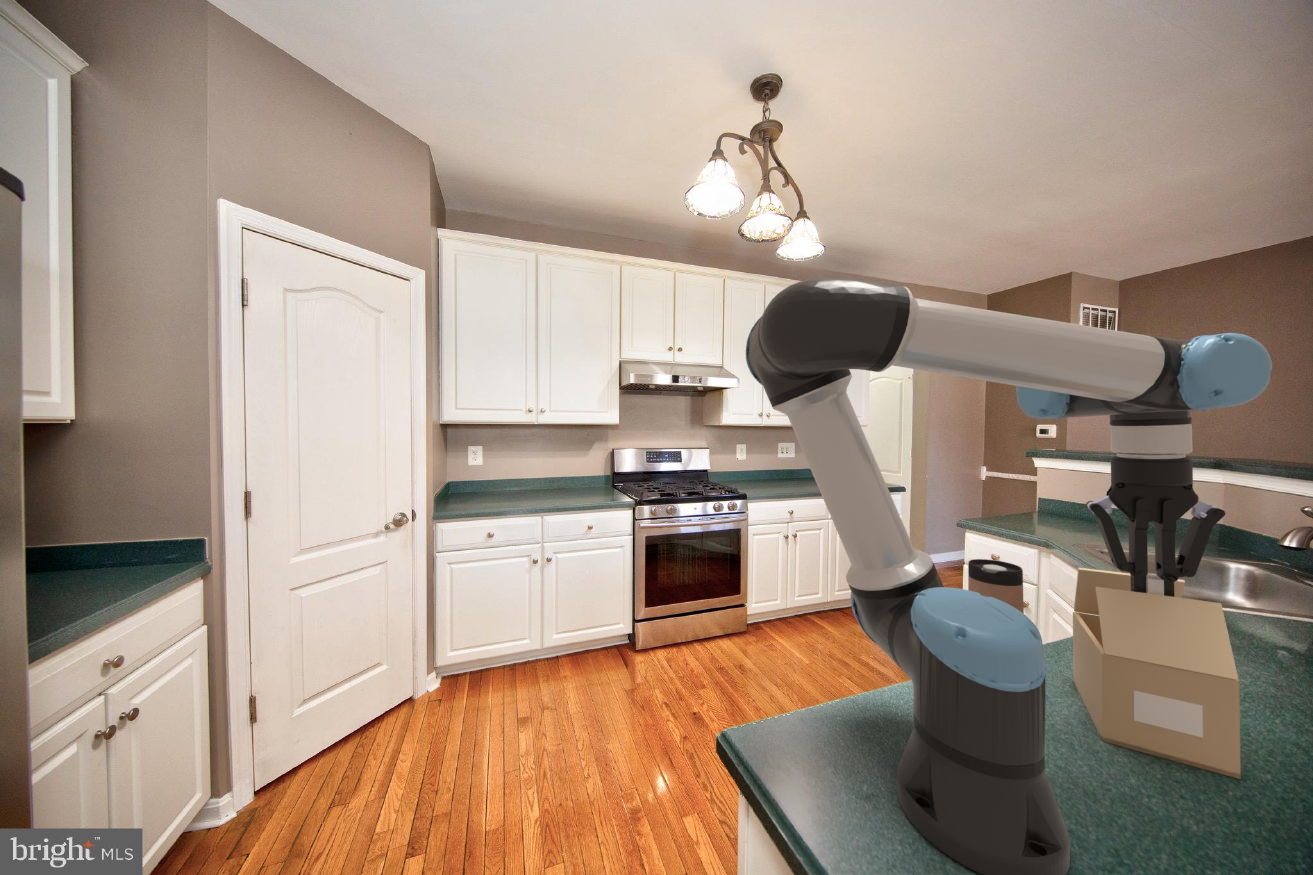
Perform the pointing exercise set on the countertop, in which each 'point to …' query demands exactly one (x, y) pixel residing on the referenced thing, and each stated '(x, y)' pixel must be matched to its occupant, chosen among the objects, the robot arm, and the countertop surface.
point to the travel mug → (997, 581)
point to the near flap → (1166, 631)
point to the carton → (1157, 705)
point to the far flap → (1105, 579)
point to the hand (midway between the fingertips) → (1152, 621)
